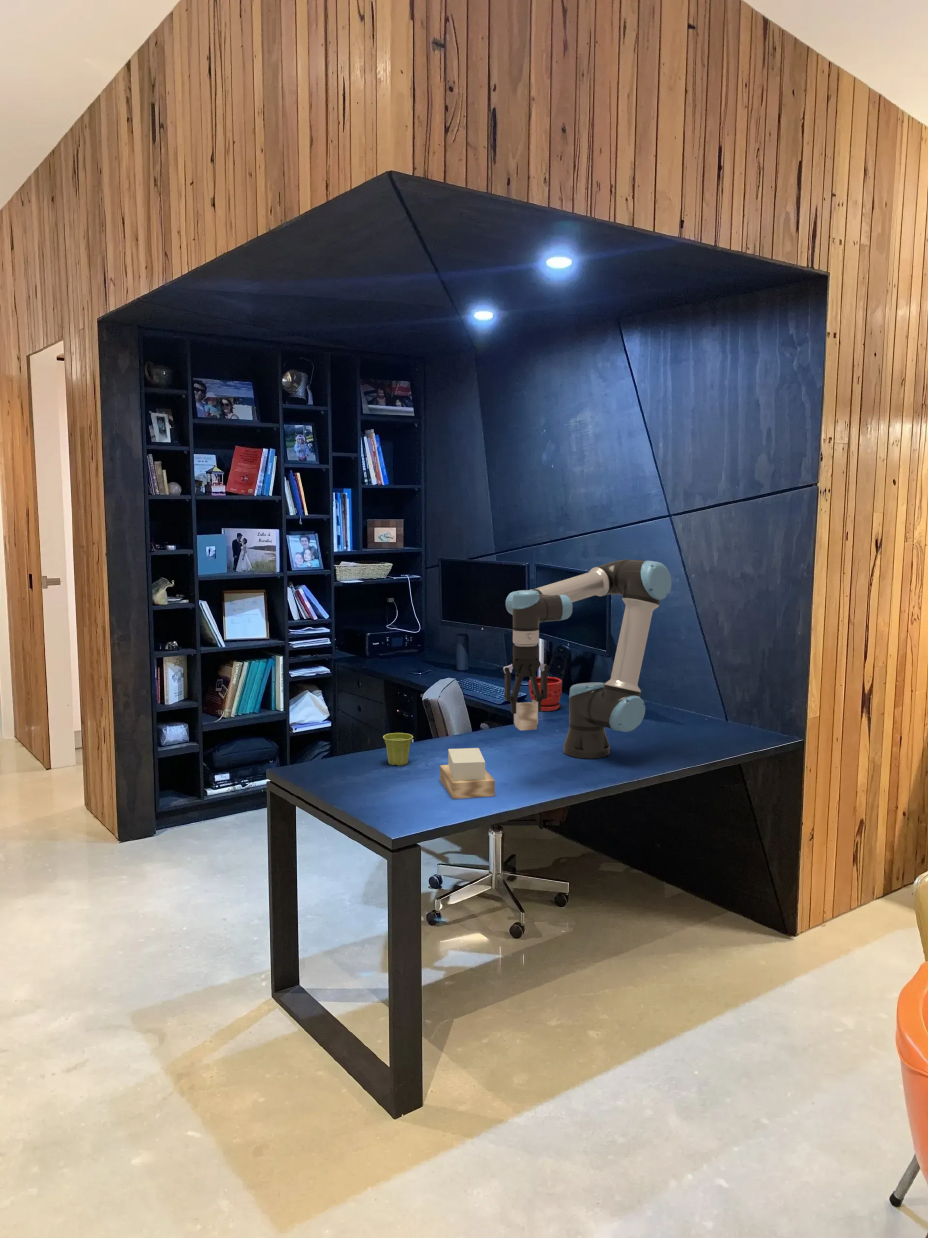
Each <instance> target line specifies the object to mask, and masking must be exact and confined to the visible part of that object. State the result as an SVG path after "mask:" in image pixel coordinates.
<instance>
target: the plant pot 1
mask: <svg viewBox="0 0 928 1238" xmlns="http://www.w3.org/2000/svg"><path fill="white" fill-rule="evenodd" d="M382 738H383V740H384V743H385V747H386V757H387V762H388V765H391V766H395V765H397V766H400V767H401V766H405V765H407V764H408V763H409V757H410V756H409V755H410V749H411V743H412V741H413V739H414V736H413V735H412V734H410V733H406V732H405V733H404V732H394V733H393V732H391V733H386V734H384V735H383V736H382Z"/></svg>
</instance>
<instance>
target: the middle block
mask: <svg viewBox="0 0 928 1238" xmlns="http://www.w3.org/2000/svg"><path fill="white" fill-rule="evenodd" d="M447 750H448V751H447V752H448V758H447V759H448V762H447V765H448V766H449V769H450V772H451V775H452V778H453V781H456V780H484V779H485V770H486V761H485V759H484V756H483V754H482V752H481V750H480V748H479V747H469V748H448V749H447Z"/></svg>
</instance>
